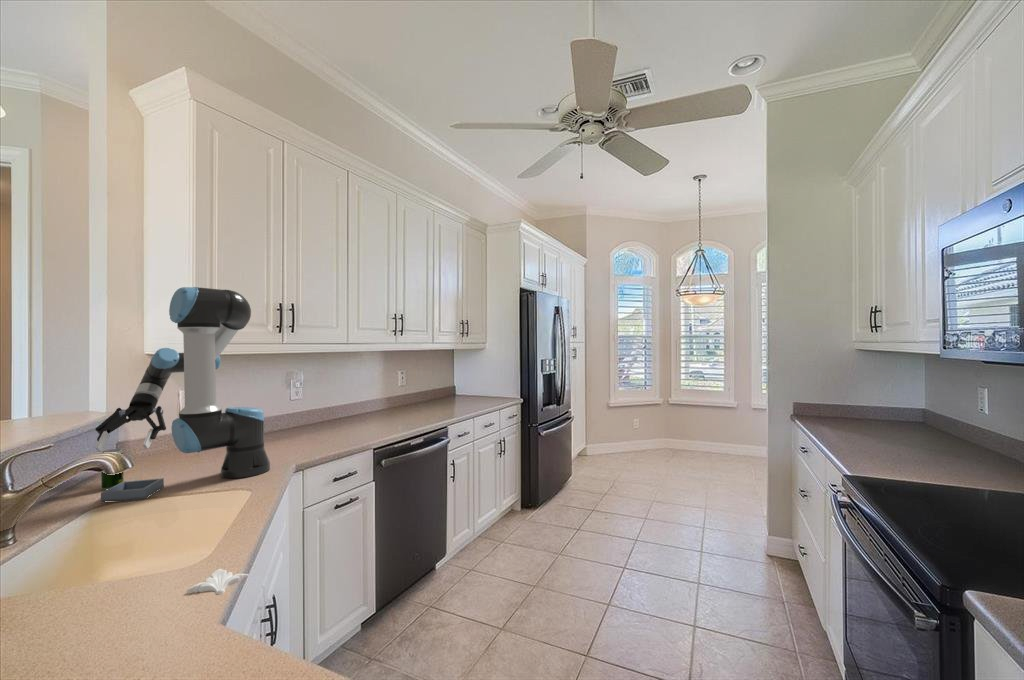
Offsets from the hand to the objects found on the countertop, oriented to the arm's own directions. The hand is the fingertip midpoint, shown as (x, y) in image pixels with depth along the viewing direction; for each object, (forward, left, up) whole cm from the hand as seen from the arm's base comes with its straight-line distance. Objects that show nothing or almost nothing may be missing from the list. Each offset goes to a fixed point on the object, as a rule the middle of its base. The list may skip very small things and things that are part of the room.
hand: (122, 448), depth 151 cm
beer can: (-1, +7, -11) cm, 13 cm away
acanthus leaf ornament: (-58, +82, -12) cm, 101 cm away
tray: (-12, +17, -11) cm, 24 cm away
